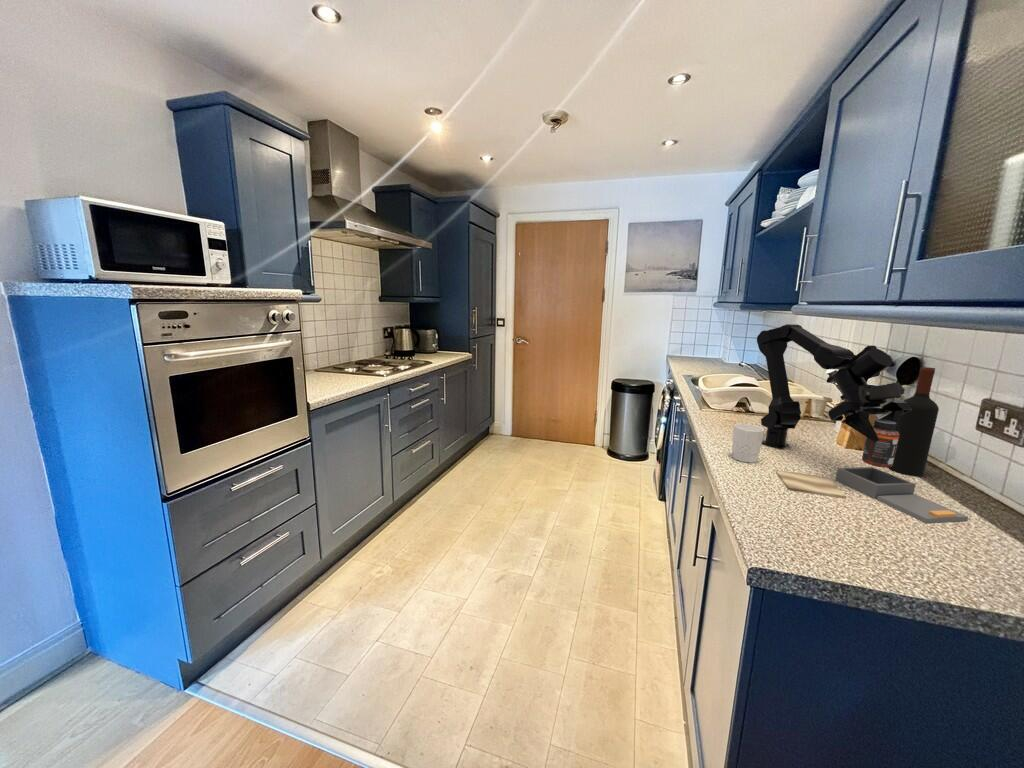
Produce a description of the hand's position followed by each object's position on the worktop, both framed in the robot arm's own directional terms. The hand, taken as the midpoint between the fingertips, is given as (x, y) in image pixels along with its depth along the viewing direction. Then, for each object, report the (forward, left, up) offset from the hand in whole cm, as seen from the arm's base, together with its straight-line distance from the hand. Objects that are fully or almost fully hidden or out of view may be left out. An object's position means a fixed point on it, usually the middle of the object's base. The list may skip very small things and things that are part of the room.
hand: (887, 441), depth 100 cm
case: (+2, +4, -13) cm, 14 cm away
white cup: (+5, -30, -13) cm, 33 cm away
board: (+10, -12, -13) cm, 21 cm away
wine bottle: (-24, +1, -13) cm, 28 cm away
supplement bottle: (-1, -1, -7) cm, 7 cm away
